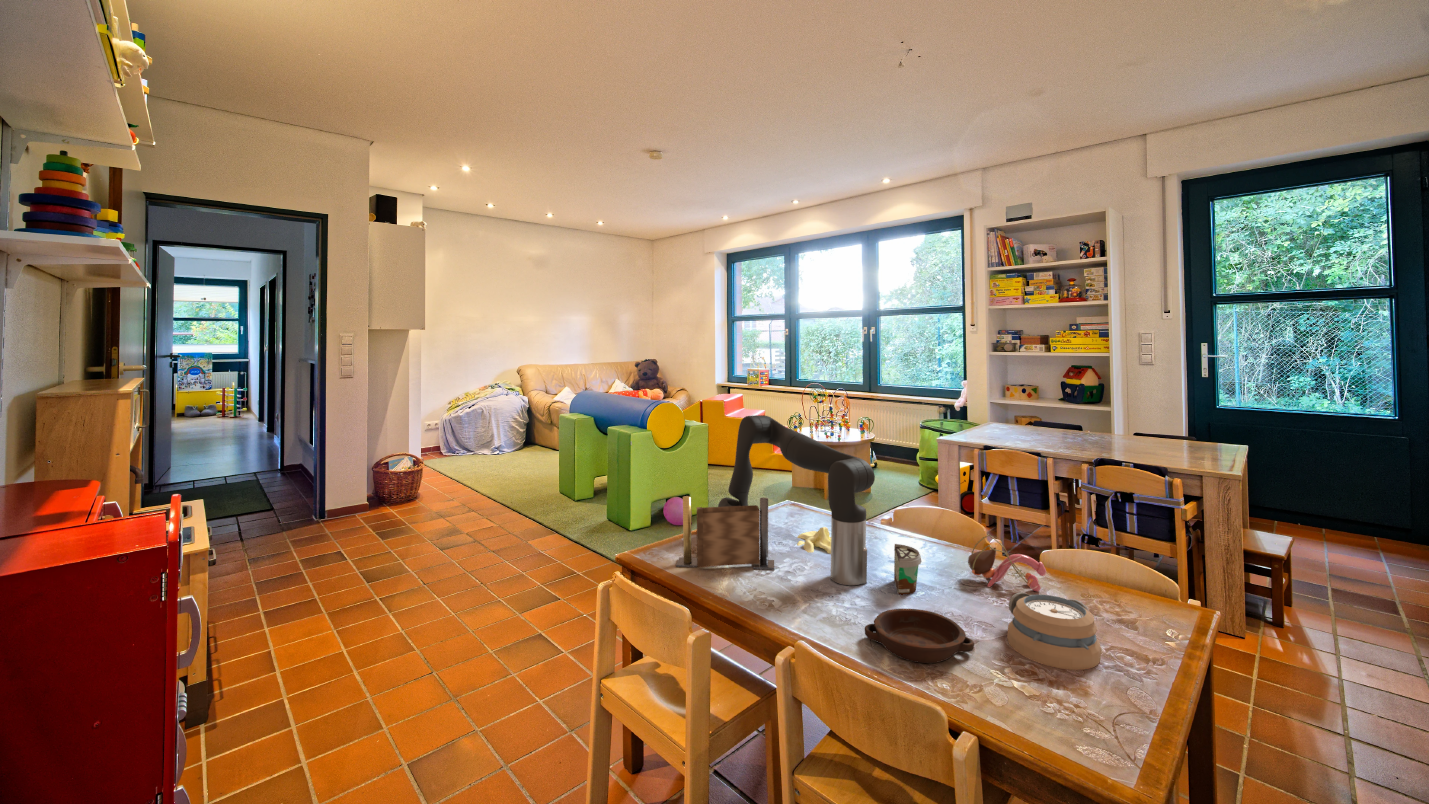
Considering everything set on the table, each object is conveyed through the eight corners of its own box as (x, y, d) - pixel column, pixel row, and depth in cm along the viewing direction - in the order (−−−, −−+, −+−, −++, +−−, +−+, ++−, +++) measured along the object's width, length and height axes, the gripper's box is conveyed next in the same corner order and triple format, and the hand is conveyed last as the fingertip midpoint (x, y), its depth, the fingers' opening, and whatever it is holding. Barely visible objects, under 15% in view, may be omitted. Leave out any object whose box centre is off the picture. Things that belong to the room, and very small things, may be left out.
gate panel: (758, 561, 169) (758, 504, 167) (759, 563, 167) (759, 506, 165) (697, 564, 167) (696, 507, 165) (697, 567, 165) (697, 508, 163)
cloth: (802, 532, 199) (802, 515, 199) (856, 539, 192) (856, 521, 191) (782, 553, 179) (782, 534, 179) (841, 562, 171) (841, 542, 171)
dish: (980, 678, 111) (981, 654, 111) (863, 662, 117) (863, 639, 117) (967, 635, 128) (968, 613, 127) (865, 622, 134) (865, 602, 133)
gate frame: (774, 561, 171) (774, 496, 169) (774, 569, 165) (774, 501, 163) (679, 559, 174) (678, 494, 172) (676, 566, 168) (675, 499, 166)
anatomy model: (1059, 585, 144) (1011, 532, 147) (1006, 617, 149) (961, 564, 152) (1051, 569, 155) (1006, 519, 158) (1002, 599, 160) (960, 550, 163)
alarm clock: (1013, 617, 116) (1003, 574, 138) (1011, 660, 117) (1001, 611, 139) (1113, 632, 110) (1086, 585, 131) (1110, 678, 111) (1084, 624, 132)
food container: (924, 599, 145) (925, 561, 144) (898, 597, 146) (899, 559, 145) (917, 580, 157) (918, 544, 156) (893, 578, 158) (894, 543, 157)
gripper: (708, 512, 184) (700, 530, 167) (749, 513, 183) (746, 531, 166) (708, 535, 185) (701, 555, 168) (749, 536, 184) (746, 556, 166)
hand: (723, 543), depth 167 cm, fingers closed
